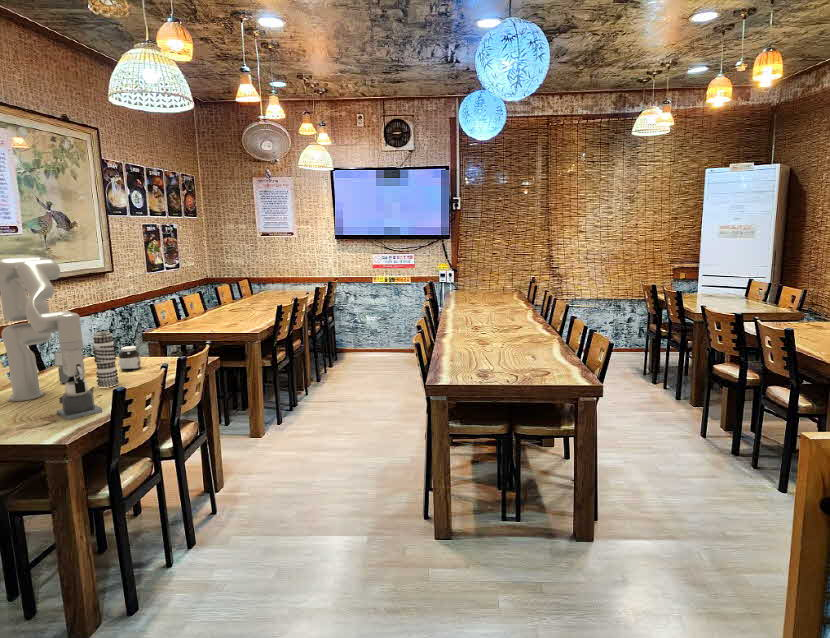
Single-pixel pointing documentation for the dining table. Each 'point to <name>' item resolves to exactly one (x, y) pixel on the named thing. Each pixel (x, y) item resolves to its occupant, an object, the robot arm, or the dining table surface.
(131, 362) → the spread jar
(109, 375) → the decorative candle
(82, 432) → the dining table surface
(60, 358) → the camera
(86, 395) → the gray square-based holder
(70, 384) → the cup
